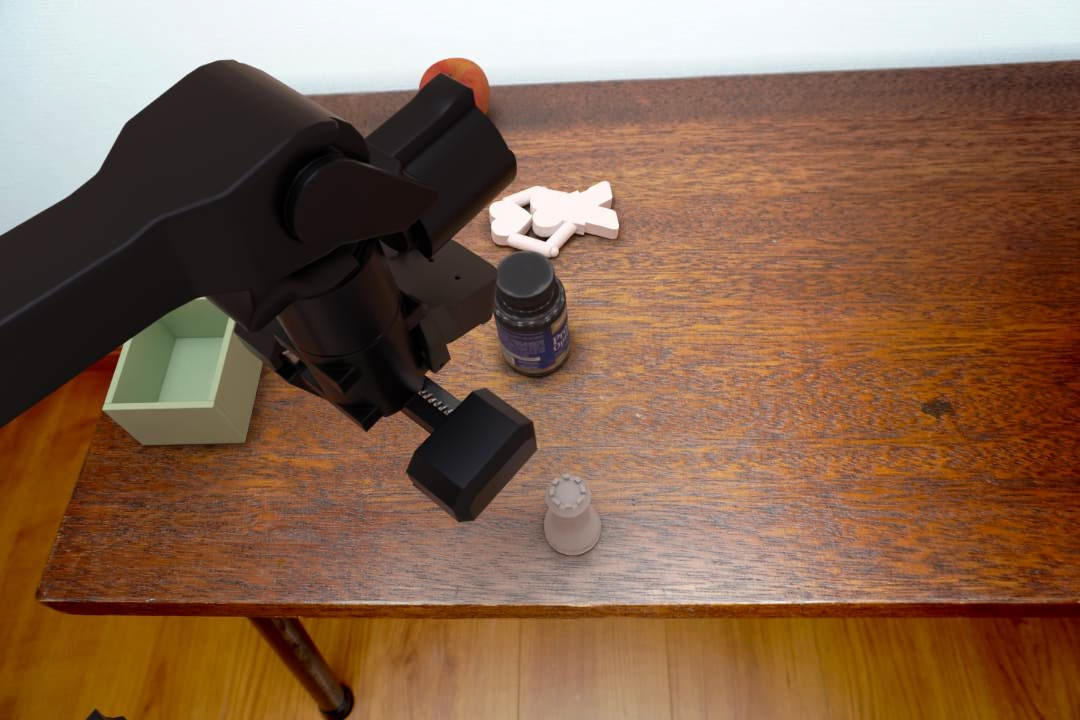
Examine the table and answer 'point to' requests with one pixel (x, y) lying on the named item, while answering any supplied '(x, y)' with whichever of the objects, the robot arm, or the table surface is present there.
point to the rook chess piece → (571, 516)
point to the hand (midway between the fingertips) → (411, 445)
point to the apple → (462, 78)
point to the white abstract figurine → (552, 217)
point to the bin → (185, 380)
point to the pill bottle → (531, 314)
